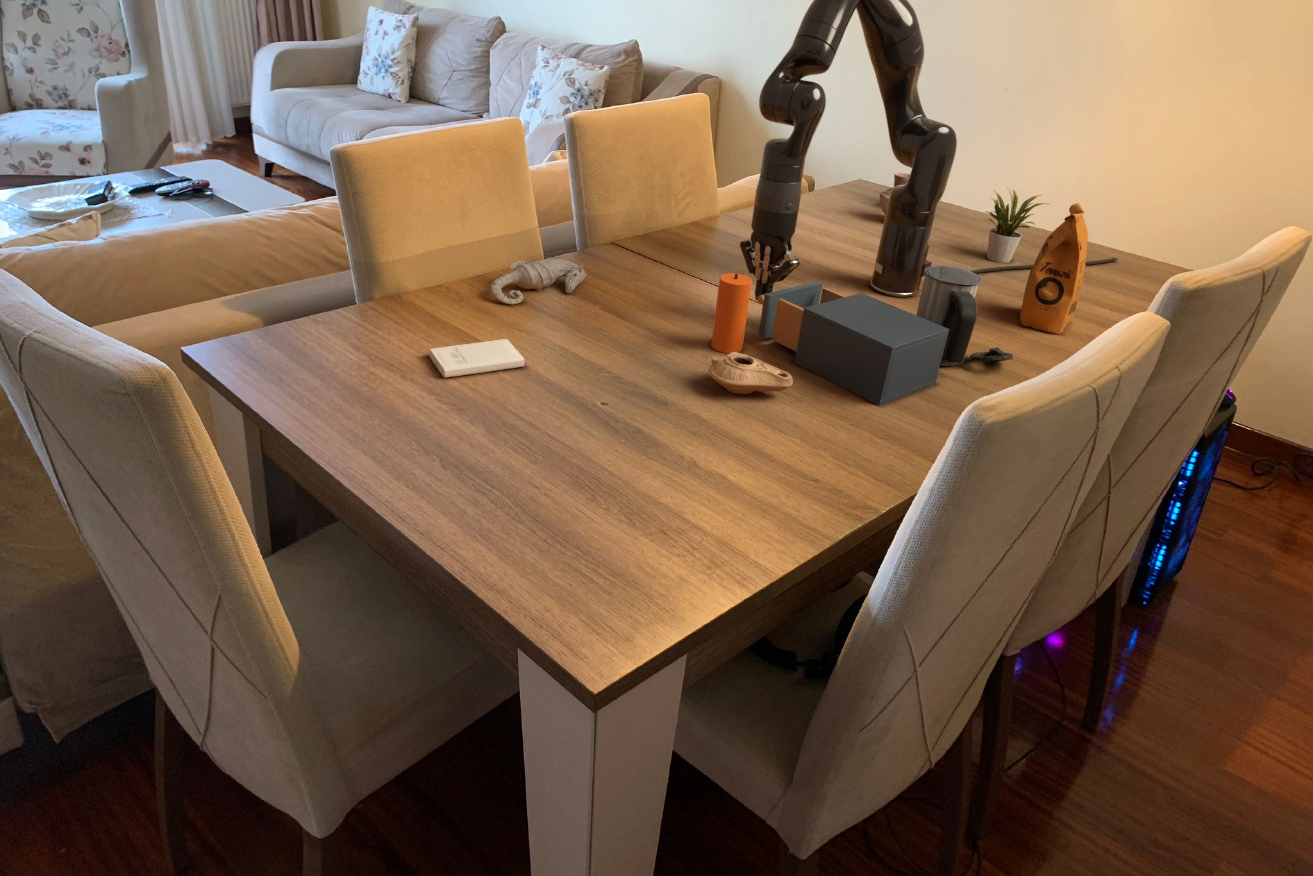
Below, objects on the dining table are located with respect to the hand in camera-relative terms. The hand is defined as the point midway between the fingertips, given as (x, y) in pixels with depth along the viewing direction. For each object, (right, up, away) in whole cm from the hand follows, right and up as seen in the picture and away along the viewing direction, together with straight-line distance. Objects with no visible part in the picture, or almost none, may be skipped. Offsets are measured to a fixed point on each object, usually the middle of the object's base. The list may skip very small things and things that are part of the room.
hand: (762, 300), depth 163 cm
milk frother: (+33, -11, -5) cm, 35 cm away
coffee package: (+56, -2, +15) cm, 58 cm away
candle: (-7, -9, -9) cm, 15 cm away
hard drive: (-46, -13, -22) cm, 53 cm away
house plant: (+62, +17, +49) cm, 80 cm away
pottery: (+46, +32, +74) cm, 93 cm away
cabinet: (+15, -14, -13) cm, 25 cm away
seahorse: (-41, +2, +6) cm, 41 cm away
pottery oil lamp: (-5, -18, -23) cm, 29 cm away
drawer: (+8, -8, -6) cm, 13 cm away
